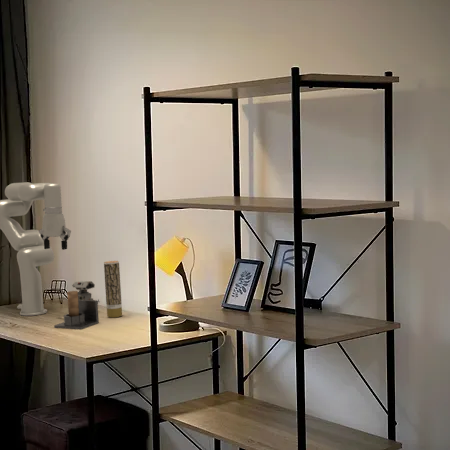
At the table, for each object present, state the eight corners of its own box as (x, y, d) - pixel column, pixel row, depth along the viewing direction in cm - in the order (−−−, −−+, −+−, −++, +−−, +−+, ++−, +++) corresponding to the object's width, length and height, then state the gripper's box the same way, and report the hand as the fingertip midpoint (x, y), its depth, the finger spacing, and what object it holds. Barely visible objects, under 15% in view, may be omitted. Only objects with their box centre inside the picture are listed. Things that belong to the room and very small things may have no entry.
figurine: (83, 316, 378) (81, 283, 377) (70, 313, 387) (68, 281, 385) (100, 312, 384) (98, 281, 383) (87, 309, 393) (85, 278, 391)
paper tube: (119, 318, 369) (116, 262, 367) (105, 318, 371) (101, 263, 368) (124, 314, 376) (121, 260, 374) (110, 314, 377) (106, 260, 375)
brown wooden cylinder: (67, 324, 355) (65, 292, 354) (73, 322, 359) (71, 290, 358) (75, 325, 353) (73, 292, 352) (81, 323, 357) (79, 291, 356)
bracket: (72, 321, 367) (71, 299, 366) (98, 323, 360) (97, 300, 360) (54, 327, 355) (52, 304, 354) (81, 329, 349) (79, 306, 348)
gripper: (32, 211, 369) (35, 249, 371) (63, 212, 361) (66, 250, 363) (43, 210, 376) (45, 247, 377) (74, 210, 368) (76, 248, 370)
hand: (55, 249), depth 370 cm, fingers open, 9 cm apart
